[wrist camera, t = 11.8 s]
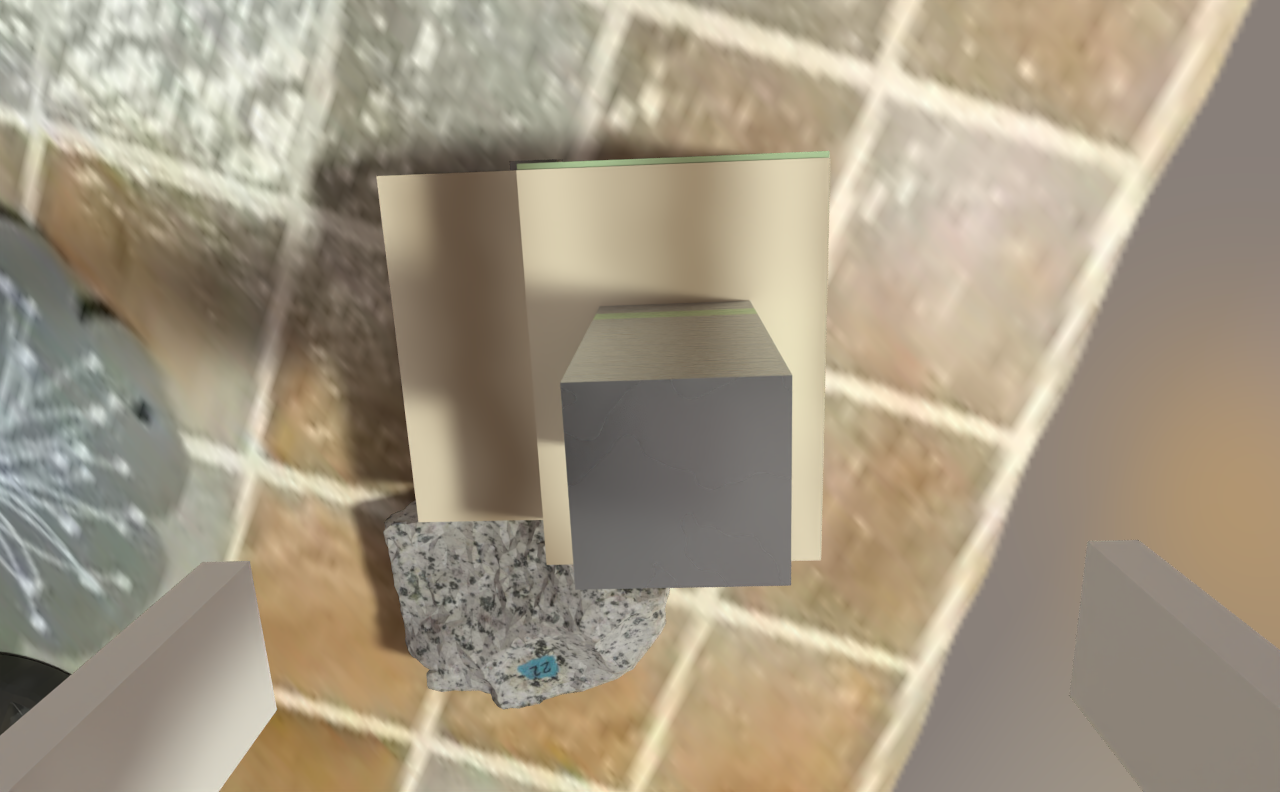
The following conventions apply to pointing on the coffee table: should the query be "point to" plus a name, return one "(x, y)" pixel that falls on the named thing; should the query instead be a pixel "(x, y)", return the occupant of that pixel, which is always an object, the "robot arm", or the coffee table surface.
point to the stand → (588, 308)
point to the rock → (511, 611)
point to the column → (678, 449)
